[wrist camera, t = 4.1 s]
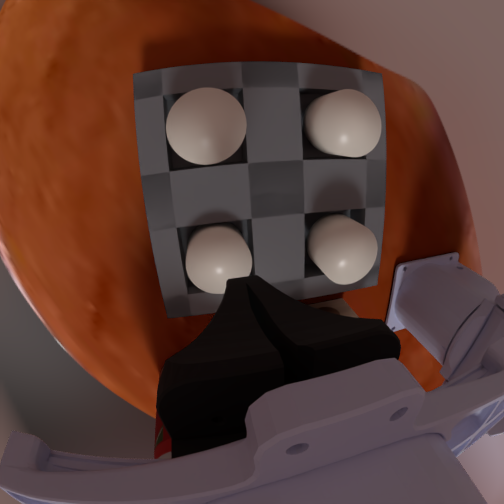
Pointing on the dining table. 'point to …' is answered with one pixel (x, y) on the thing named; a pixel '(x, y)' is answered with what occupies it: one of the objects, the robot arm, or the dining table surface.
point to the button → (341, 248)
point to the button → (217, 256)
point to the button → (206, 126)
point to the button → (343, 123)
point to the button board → (256, 176)
